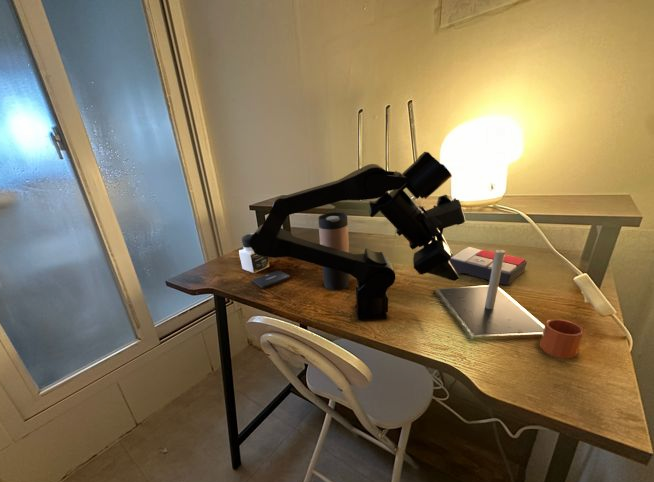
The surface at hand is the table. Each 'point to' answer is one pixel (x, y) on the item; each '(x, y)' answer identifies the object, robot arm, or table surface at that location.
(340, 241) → the travel mug
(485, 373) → the table surface
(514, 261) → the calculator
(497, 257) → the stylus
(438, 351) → the table surface
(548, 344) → the pen pot
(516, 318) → the tablet
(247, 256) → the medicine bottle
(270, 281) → the solid state drive
